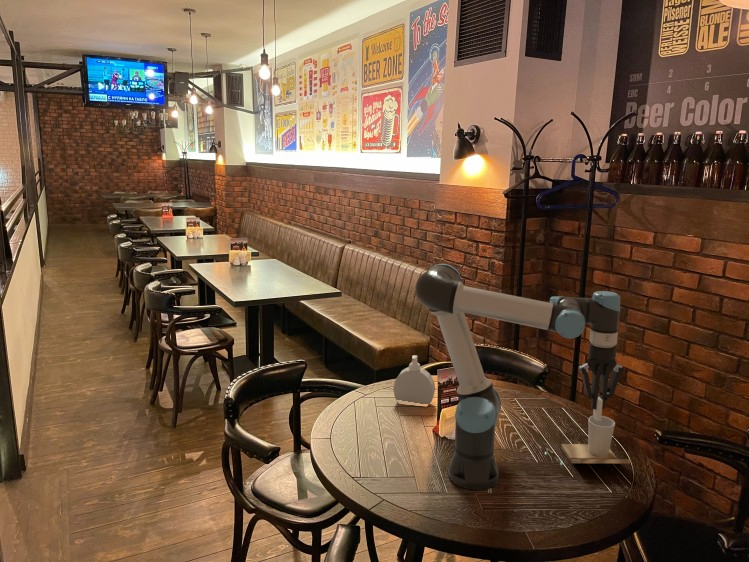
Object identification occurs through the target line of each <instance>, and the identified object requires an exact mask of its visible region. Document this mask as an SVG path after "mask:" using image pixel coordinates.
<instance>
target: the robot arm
mask: <svg viewBox="0 0 749 562" xmlns="http://www.w3.org/2000/svg"><path fill="white" fill-rule="evenodd" d="M414 287H415V296H416V297H417V300H418V302H419V303H421V305H422V306H424V307H426V308H427V309H428V310H429V312H430V313H431V314H433V315H434V316H436V319H437V321H438V324H439V327H440V330H441V334H442V337H443V339H444V343H445V346H446V349H447V352H448V354H449V357H450V360H451V364H452V366H453V369H454V372H455V373H454V374H455V375H456V378H457V381H458V384H459V385H458V387H457V388H456V393H457V397H458V399H459V402H458V404H457V406H456V407H455V412H454V417H455V431H454V436H455V437H454V452H453V455H452V457H451V460H450V463H449V465H448V469H447V470H448V471H447V473H448V474H449V476H448V478H449V477H450V478H451V479H452V481H453V482H455V483H456V484H458V485H460V486H462V487H461V488H463V487H466V488H469V489H468V490H471V489H473V491H474V490H475V491H480V490H481V491H482V490H488V489H491V488H493V487H494V486H496V485H498V483H499V476H500V472H499V468H498V465H497V461H496V457H495V454H494V453H495V451H494V449H495V435H496V428H497V422H498V419H499V416H500V414H501V413H500V412H501V409H502V402H501V397H500V394H499V392H498V391H497V389H495V388H494V385H493V382H492V380H491V379H489V378H487V377H486V376H485V373H484V369H483V366H482V364H481V361H480V358H479V354H478V352H477V348H476V345H475V341H474V339H473V335H472V332H471V330H470V326H469V323H468V321H467V317H466V315H465V314H470V315H473V316H480V317H484V318H489V319H494V320H498V321H504V322H506V323H507V322H508V323H512V324H518V325H520V326H521V325H522V326H527V327H532V328H535V329H536V328H537V329H541V330H546V331H551V332H555V333H558V334H559V335H560V336H561V337H562V338H565V339H575V338H577V337H580V336H581V335H582V333H583V332H584V330H585V326H586V325H587V324H588V325H589V324H590V330H589V331H590V332H589V339H588V340H589V342H590V343H589V344H588V357H587V359H586V363H584V364H583V365H582V364H580V365H578V370H579V371H580V373H581V380H582V384H583V389H584V394H585V395H586V397H587V398H589V399H590V408H591V409H592V410H593V411H592V413H593V414H592V416H593V418H594V419H595V420H596V421H601V416H603V410H606V409H605V408H606V403H607V401H608V399H610V398H611V399H613V397H614V394H615V391H616V387H617V385H618V382H619V379H620V377H621V375H622V374H623V372H624V371H625V368H624V367H623V366H622V365H619V364H618V363H617V359H616V357H617V346H616V345H617V344H618V335H619V327H620V326H619V324H620V313H621V296H620V295H619V294H618V293H616V292H613V291H608V290H599V291H594V292H593V293H592V297H589V298H588V297H577V296H576V297H573V296H572V297H571V296H564V295H561V296H551V297H550V298H549V301H547V302H546V301H542V300H536V299H534V298H533V299H532V298H528V297H527V298H526V297H523V296H516V295H512V294H506V293H502V292H497V291H492V290H488V289H487V290H486V289H482V288H478V287H471V286H467V285H465V284H464V283H463V282H462V277H461V274H460V272H459V271H458V270H457V269H456V267H454V266H452V265H450V264H447V263H439V264H435V265H433V266H430V267H429V268H427V270H426V271H425V272H423V273H422V274H421V275H420V276H419V277H418V279H417V281H416V282H415V286H414ZM589 370H590V371H591V376H592V377H591V382H590V377H589V374H588V372H589ZM611 372H612V373H611ZM610 373H611V377H610ZM450 478H449V479H450ZM452 481H451V482H452ZM453 482H452V483H453ZM455 483H454V484H455ZM456 484H455V485H456ZM458 485H457V486H458ZM460 486H459V487H460ZM466 488H465V489H466Z"/></svg>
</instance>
